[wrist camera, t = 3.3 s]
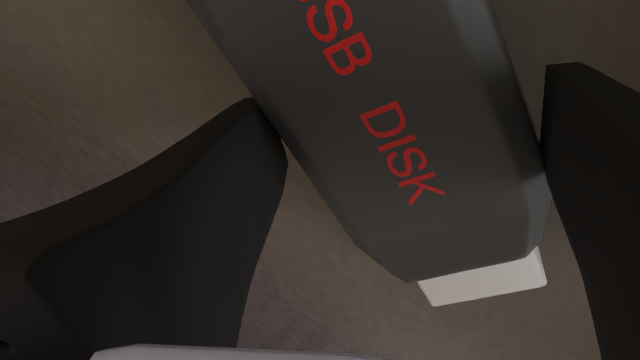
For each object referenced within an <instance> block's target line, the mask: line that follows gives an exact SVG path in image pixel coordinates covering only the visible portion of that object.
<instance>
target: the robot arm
mask: <svg viewBox="0 0 640 360" xmlns="http://www.w3.org/2000/svg"><path fill="white" fill-rule="evenodd" d="M540 147H541V151H542V154H543V158H544V163H545V174H546V179H547V183H548V186H549V189H550V191H551V194H552V197H553V199H554V202H555V205H556V208H557V210H558V213H559V215H560V218H561V221H562V223H563V226H564V229H565V231H566V234H567V236H568V239H569V242H570V244H571V247H572V250H573V252H574V255H575V257H576V260H577V263H578V266H579V269H580V272H581V275H582V278H583V282H584V286H585V290H586V294H587V298H588V302H589V306H590V310H591V314H592V318H593V322H594V327H595V331H596V336H597V340H598V345H599V349H600V353H601V358H602V360H640V93H638V92H636V91H634V90H633V89H631V88H629V87H627V86H625V85H623V84H621V83H619V82H617V81H616V80H614V79H612V78H610V77H608V76H606V75H605V74H603V73H601V72H599V71H597V70H595V69H593V68H591V67H589V66H587V65H585V64H583V63H580V62H572V63H563V64H554V65H546V74H545V87H544V99H543V111H542V124H541V136H540ZM287 168H288V160H287V157H286V153H285V150H284V147H283V144H282V140H281V137H280V135H279V134H278V132H277V131H276V129H275V128H274V126H273V125H272V124H271V122H270V121H269V119H268V118H267V116H266V115H265V113H264V112H263V111H262V109H261V108H260V106H259V105H258V103H257V102H256V100H255V99H254V97H252V98H245V99H243V100H241V101H239V102H237V103H235V104H233V105H232V106H230V107H229V108H227V109H225V110H224V111H222V112H221V113H220V114H218V115H217V116H215V117H214V118H212V119H211V120H209V121H208V122H207V123H205V124H204V125H202V126H201V127H199V128H198V129H196V130H195V131H194V132H192V133H191V134H189V135H188V136H186V137H185V138H183V139H182V140H180V141H179V142H177V143H176V144H174V145H172V146H171V147H169V148H168V149H166V150H165V151H163V152H162V153H160V154H158V155H157V156H155V157H154V158H152V159H150V160H149V161H147V162H145V163H143V164H142V165H140V166H138V167H136V168H134V169H132V170H131V171H129V172H127V173H125V174H123V175H121V176H119V177H117V178H115V179H113V180H111V181H109V182H107V183H105V184H102V185H100V186H98V187H96V188H93V189H91V190H89V191H87V192H84V193H82V194H80V195H78V196H75V197H73V198H71V199H68V200H66V201H63V202H61V203H58V204H55V205H53V206H50V207H47V208H45V209H42V210H39V211H36V212H33V213H30V214H27V215H25V216H22V217H19V218H15V219H12V220H9V221H6V222H2V223H0V360H389V359H384V358H379V357H373V356H368V355H363V354H357V353H343V352H320V351H297V350H274V349H251V348H236V345H237V340H238V336H239V331H240V326H241V322H242V317H243V312H244V308H245V304H246V300H247V296H248V292H249V288H250V284H251V280H252V277H253V274H254V271H255V268H256V264H257V262H258V259H259V256H260V254H261V251H262V248H263V246H264V243H265V240H266V238H267V235H268V232H269V230H270V227H271V224H272V222H273V219H274V216H275V214H276V211H277V208H278V205H279V203H280V200H281V197H282V193H283V188H284V184H285V179H286V174H287Z"/></svg>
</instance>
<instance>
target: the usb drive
mask: <svg viewBox="0 0 640 360" xmlns="http://www.w3.org/2000/svg"><path fill="white" fill-rule="evenodd" d="M187 2H188V3H189V5H190V6H191V8H192V9H193V10H194V12H195V13H196V15H197V16H198V18H199V19H200V21H201V22H202V24H203V25H204V26H205V28H206V29H207V31H208V32H209V34H210V35H211V37H212V38H213V39H214V41H215V42H216V44H217V45H218V47H219V48H220V50H221V51H222V53H223V54H224V55H225V57H226V58H227V60H228V61H229V63H230V64H231V66H232V67H233V68H234V70H235V71H236V73H237V74H238V76H239V77H240V79H241V80H242V82H243V83H244V84H245V86H246V87H247V89H248V90H249V92H250V93H251V95H252V96H253V97H254V99H255V100H256V102H257V103H258V105H259V106H260V108H261V109H262V111H263V112H264V113H265V115H266V116H267V118H268V119H269V121H270V122H271V124H272V125H273V126H274V128H275V129H276V131H277V132H278V134H279V135H280V137H281V138H282V140H283V141H284V142H285V144H286V145H287V147H288V148H289V150H290V151H291V153H292V154H293V155H294V157H295V158H296V160H297V161H298V163H299V164H300V166H301V167H302V169H303V170H304V171H305V173H306V174H307V176H308V177H309V179H310V180H311V182H312V183H313V184H314V186H315V187H316V189H317V190H318V192H319V193H320V195H321V196H322V198H323V199H324V200H325V202H326V203H327V205H328V206H329V208H330V209H331V211H332V212H333V213H334V215H335V216H336V218H337V219H338V221H339V222H340V224H341V225H342V227H343V228H344V229H345V231H346V232H347V234H348V235H349V236H350V238H351V239H352V241H353V242H354V243H355V244H356V245H357V247H358V248H360V249H361V250H362V251H363V252H365V253H366V254H367V255H368V256H370V257H371V258H372V259H373V260H375V261H376V262H377V263H378V264H380V265H381V266H382V267H384V268H385V269H386V270H387V271H389V272H390V273H391V274H392V275H394V276H396V277H397V278H399V279H400V280H402V281H403V282H405V283H411V282H417V283H418V284H419V286H420V288H421V289H422V291H423V292H424V294H425V295H426V297H427V299H428V300H429V302H430V303H431V305H432V306H433V307H436V306H442V305H447V304H453V303H458V302H463V301H469V300H474V299H479V298H485V297H490V296H496V295H501V294H506V293H512V292H517V291H523V290H528V289H533V288H539V287H543V286H545V285H546V284H547V280H546V276H545V272H544V268H543V264H542V260H541V255H540V251H539V247H538V244H539V243H540V242H541V241H542V238H543V234H544V231H545V227H546V223H547V219H548V215H549V211H550V207H551V202H552V198H553V197H552V194H551V191H550V189H549V186H548V183H547V179H546V174H545V163H544V158H543V154H542V151H541V147H540V143H539V139H538V136H537V133H536V130H535V127H534V124H533V122H532V119H531V116H530V113H529V110H528V107H527V105H526V102H525V99H524V96H523V93H522V90H521V88H520V85H519V82H518V79H517V76H516V73H515V71H514V68H513V65H512V62H511V59H510V56H509V54H508V51H507V48H506V45H505V42H504V39H503V36H502V34H501V31H500V28H499V25H498V22H497V19H496V17H495V14H494V11H493V8H492V5H491V2H490V0H187Z"/></svg>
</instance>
